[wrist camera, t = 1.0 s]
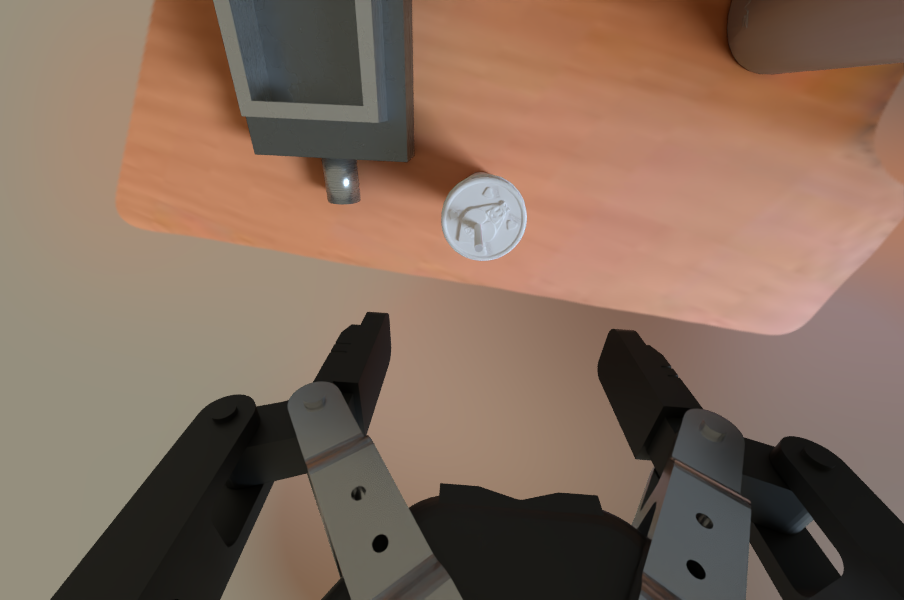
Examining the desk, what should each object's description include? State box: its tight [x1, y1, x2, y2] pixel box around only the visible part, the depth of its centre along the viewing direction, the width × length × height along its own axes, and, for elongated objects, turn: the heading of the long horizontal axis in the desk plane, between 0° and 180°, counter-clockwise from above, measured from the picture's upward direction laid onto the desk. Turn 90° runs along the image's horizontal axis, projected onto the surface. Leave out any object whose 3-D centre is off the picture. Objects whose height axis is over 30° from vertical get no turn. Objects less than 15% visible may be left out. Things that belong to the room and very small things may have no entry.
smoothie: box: [441, 172, 527, 261], centre depth 27 cm, size 6×6×14 cm
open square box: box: [213, 0, 414, 204], centre depth 26 cm, size 13×20×7 cm, turn 178°
